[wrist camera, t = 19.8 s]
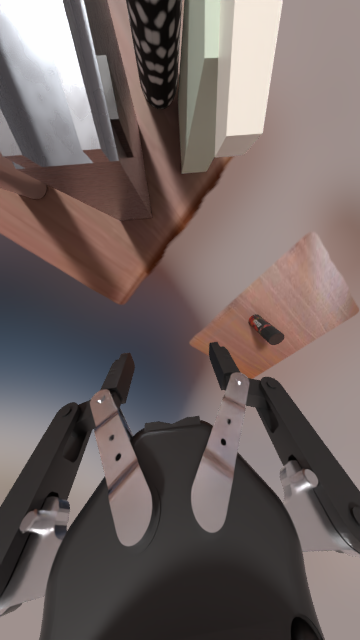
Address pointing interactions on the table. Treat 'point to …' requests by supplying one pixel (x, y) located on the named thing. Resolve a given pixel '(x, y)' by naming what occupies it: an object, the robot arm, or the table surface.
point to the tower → (70, 104)
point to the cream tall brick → (244, 72)
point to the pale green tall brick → (198, 84)
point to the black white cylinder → (156, 47)
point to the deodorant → (266, 330)
